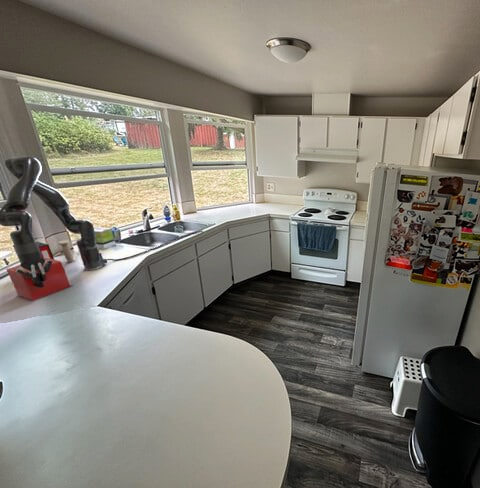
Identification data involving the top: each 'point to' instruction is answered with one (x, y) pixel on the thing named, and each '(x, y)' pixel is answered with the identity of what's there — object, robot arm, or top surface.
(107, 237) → the tea box
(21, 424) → the top surface
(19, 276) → the cabinet
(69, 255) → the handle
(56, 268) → the red cabinet door
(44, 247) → the cleaning product box
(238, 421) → the top surface
